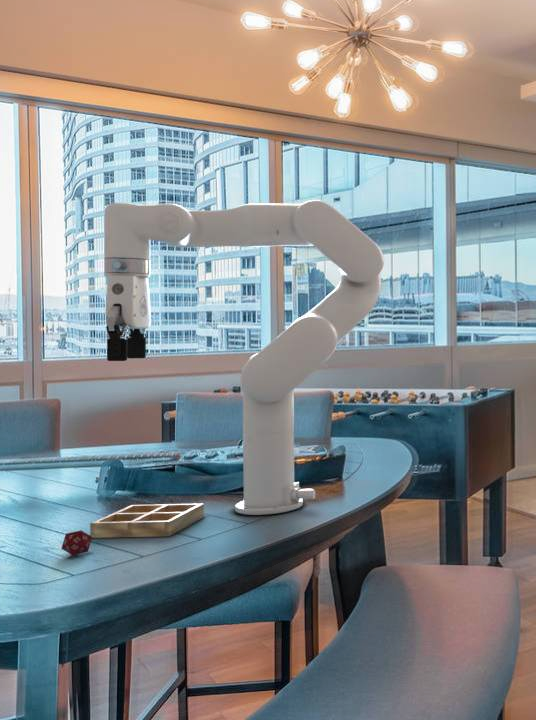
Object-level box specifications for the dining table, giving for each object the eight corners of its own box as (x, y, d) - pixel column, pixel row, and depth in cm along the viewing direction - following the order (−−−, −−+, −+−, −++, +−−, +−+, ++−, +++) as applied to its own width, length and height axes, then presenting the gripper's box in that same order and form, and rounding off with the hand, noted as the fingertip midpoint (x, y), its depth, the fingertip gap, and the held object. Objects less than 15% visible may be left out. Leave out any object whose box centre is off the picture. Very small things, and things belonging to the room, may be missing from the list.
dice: (82, 550, 133) (81, 526, 133) (96, 553, 131) (96, 529, 131) (57, 555, 130) (57, 531, 130) (72, 560, 128) (71, 535, 128)
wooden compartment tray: (204, 516, 155) (203, 503, 155) (169, 536, 141) (169, 521, 141) (131, 518, 154) (131, 504, 154) (90, 537, 141) (89, 523, 141)
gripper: (132, 266, 144) (132, 362, 144) (164, 272, 161) (163, 357, 161) (86, 266, 143) (85, 362, 143) (122, 271, 160) (122, 357, 160)
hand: (127, 359), depth 152 cm, fingers open, 9 cm apart
